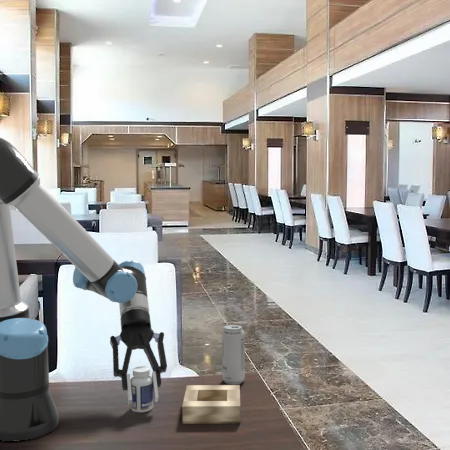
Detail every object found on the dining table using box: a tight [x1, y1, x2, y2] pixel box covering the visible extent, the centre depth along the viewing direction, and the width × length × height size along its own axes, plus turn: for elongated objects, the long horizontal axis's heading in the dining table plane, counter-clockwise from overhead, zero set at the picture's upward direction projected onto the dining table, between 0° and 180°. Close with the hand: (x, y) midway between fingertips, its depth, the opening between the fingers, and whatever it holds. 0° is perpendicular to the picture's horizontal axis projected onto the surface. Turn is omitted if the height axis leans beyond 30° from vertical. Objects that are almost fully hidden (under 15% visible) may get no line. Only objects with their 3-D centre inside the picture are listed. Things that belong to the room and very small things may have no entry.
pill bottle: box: [130, 366, 154, 413], centre depth 140 cm, size 5×5×10 cm
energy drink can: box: [221, 324, 246, 385], centre depth 157 cm, size 6×6×15 cm
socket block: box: [182, 384, 241, 425], centre depth 138 cm, size 13×13×4 cm
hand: (143, 400), depth 136 cm, fingers closed on pill bottle, 5 cm apart
